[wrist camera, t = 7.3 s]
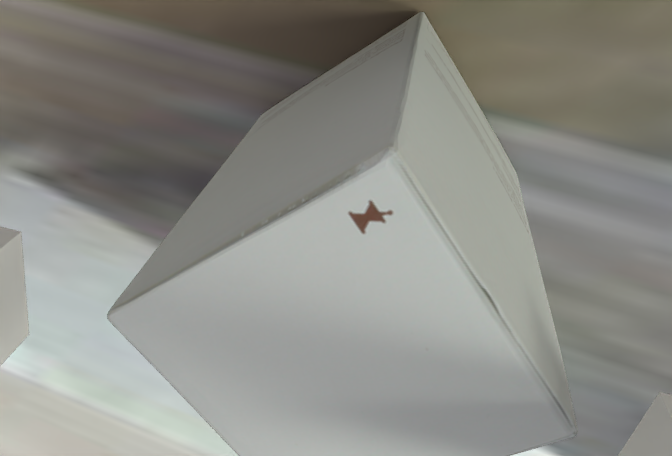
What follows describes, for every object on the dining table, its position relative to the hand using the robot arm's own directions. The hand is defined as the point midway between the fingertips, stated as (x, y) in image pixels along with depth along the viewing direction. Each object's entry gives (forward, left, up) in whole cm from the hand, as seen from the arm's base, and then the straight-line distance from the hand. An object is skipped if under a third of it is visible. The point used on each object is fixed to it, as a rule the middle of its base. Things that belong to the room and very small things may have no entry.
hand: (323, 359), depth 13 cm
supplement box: (0, 0, -12) cm, 12 cm away
